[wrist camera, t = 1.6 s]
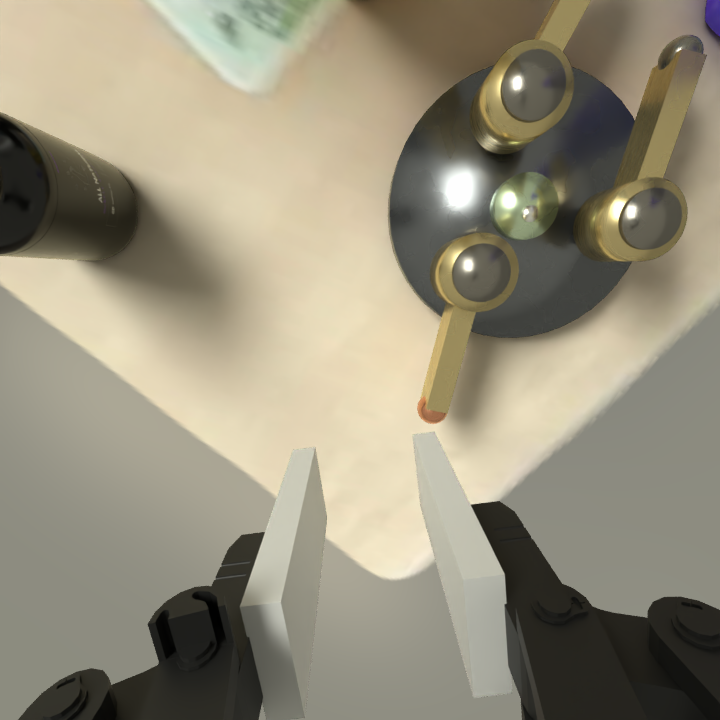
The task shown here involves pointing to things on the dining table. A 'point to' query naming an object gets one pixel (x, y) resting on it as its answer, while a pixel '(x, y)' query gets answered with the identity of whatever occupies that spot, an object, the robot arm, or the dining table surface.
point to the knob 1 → (463, 308)
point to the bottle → (713, 15)
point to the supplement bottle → (59, 198)
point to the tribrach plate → (511, 203)
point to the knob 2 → (645, 169)
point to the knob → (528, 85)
